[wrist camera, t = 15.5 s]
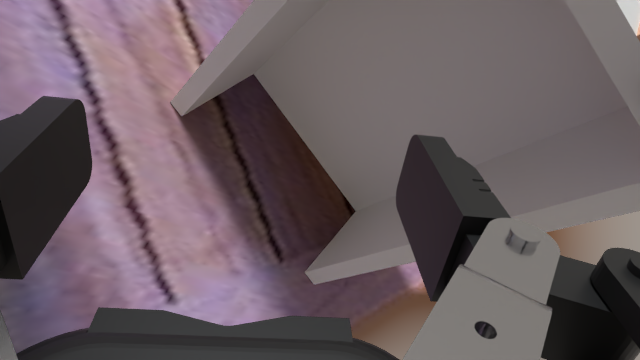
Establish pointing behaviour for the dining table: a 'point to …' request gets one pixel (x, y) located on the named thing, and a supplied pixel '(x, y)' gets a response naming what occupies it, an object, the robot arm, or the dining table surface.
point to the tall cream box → (447, 104)
